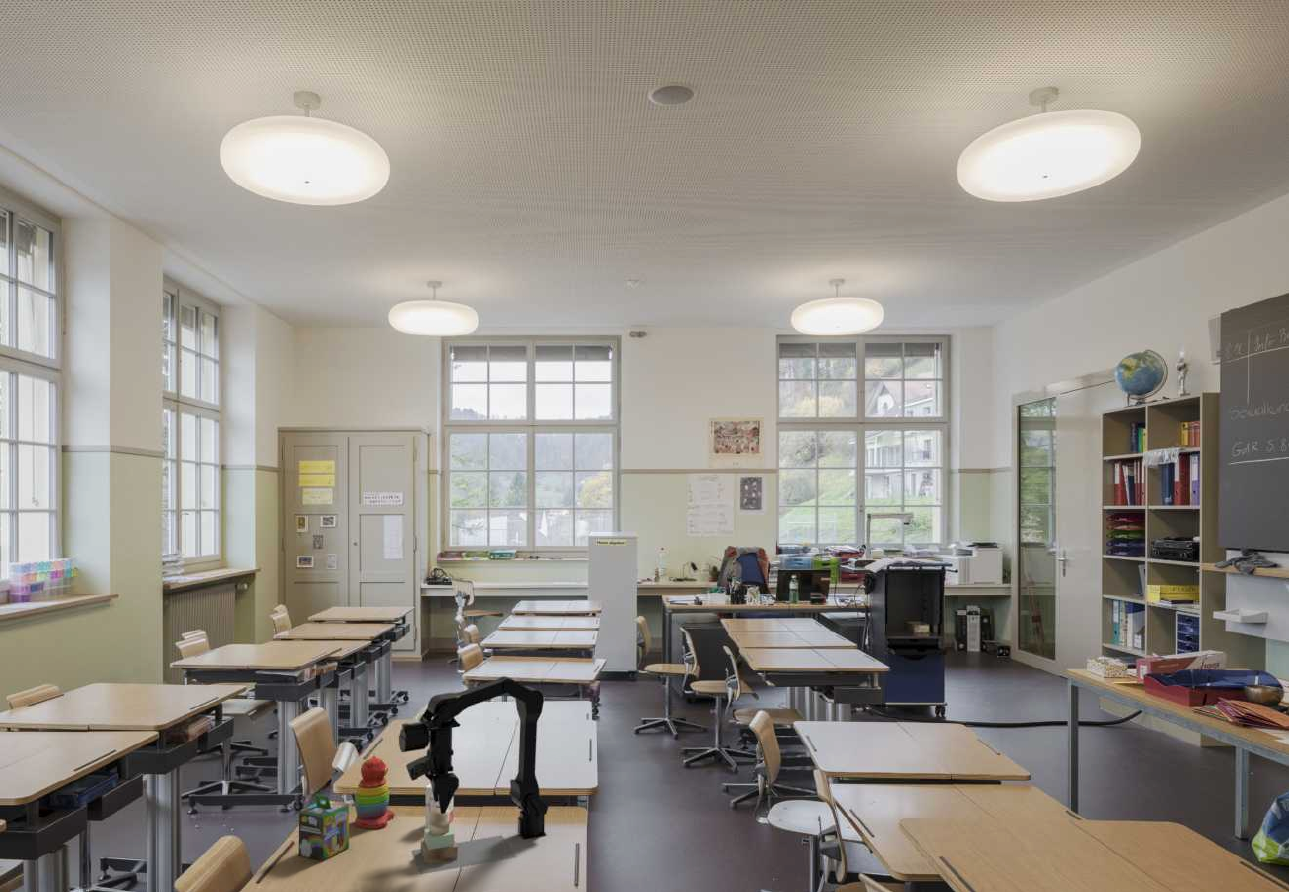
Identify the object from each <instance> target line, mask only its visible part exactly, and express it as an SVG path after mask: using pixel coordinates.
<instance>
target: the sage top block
mask: <svg viewBox="0 0 1289 892" xmlns="http://www.w3.org/2000/svg"><path fill="white" fill-rule="evenodd" d="M423 831H424V833H423V836H424V837H423V840H424V842H425V844H426V846H427V849H428V850H434V849H440V848H446V847H452V846H454V841H455V833H454V830H453V829H452V827H451V825H450V824H449V832H448V833H446V834H444V835H431V834H430V833H429V828H424V829H423Z"/></svg>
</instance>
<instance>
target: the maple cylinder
mask: <svg viewBox="0 0 1289 892" xmlns="http://www.w3.org/2000/svg"><path fill="white" fill-rule="evenodd" d="M449 825H450V823H449V809H447V811H446V813H444V814H441V811H440V808H438V809H434V810H431V811H430V815H429V833H430V834H431V835H444V834H446V833H448V832H449Z"/></svg>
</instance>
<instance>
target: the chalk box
mask: <svg viewBox="0 0 1289 892" xmlns="http://www.w3.org/2000/svg"><path fill="white" fill-rule="evenodd" d="M314 799H315V803H313V804H311V805H309V806H308V807H305V808H303V809H301V810H299V811H298V856H302V857H305V858H310V859H313V860H318V861H322V862H324V861H326V860H328V859H329V858H331V857H333V856H335V855H337V854H339V853H341V852H343V851H345V850H347V849H348V848H350V828H349V827H350V803H347V802H341V801H334V800H330V798H329V796H327V795H323V794H317V793H316V794H315V795H314Z"/></svg>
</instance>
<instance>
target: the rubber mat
mask: <svg viewBox="0 0 1289 892" xmlns="http://www.w3.org/2000/svg"><path fill="white" fill-rule="evenodd" d="M455 843H456V844H457V846H458V859H454V860H448V861H442V862H437V863H431V864H425V862H424V860H423V857H422V855H421V848H420V849H413V850H411V853H412V855H413V856H412V857H413V858H414V861H415V863H416V866H417V868H418V871H419V873H420V875H424V874H429V873H434V872H435V873H436V872H439V871H440V872H441V871H446V870H450V869H451V870H452V869H458V868H462V867H466V866H467V867H469V866H473V865H474V866H475V865H479V864H485V863H490V862H496V861H501V860H506V859H512V858H517V856H516V854H515V852H513V850H512V848H511V847H510V845H509V844H508V842H507V841H506V840H505V838H504V837H503V835H502V834H501V835H496V836H490V837H486V838H485V837H484V838H480V839H472V840H466V841H461V842H455Z"/></svg>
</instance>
